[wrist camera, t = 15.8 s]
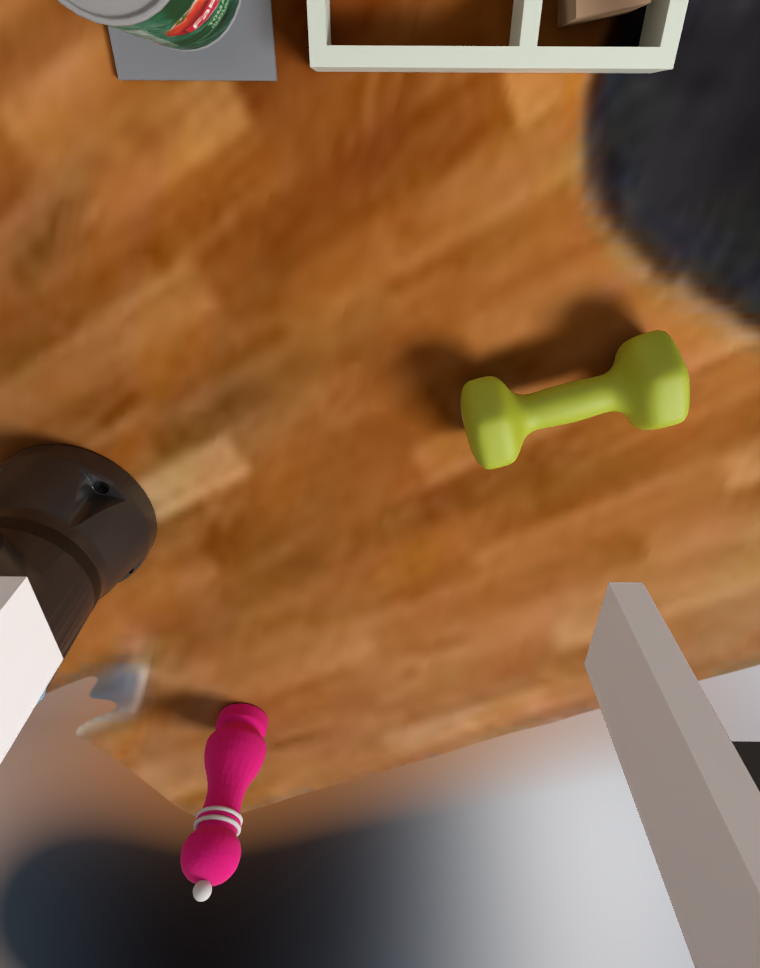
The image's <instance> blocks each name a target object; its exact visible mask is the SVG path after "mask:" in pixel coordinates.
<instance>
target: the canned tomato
mask: <svg viewBox="0 0 760 968" xmlns="http://www.w3.org/2000/svg"><path fill="white" fill-rule="evenodd" d="M58 1H59V2H60V3H61V4H62V5H64V6H65V7H67V8H68V9H70V10H71V11H73V12H74V13H76V14H77V15H79V16H81V17H83V18H86V19H88V20H90V21H93V22H95V23H99V24H104V25H107V26H109V27H111V28H115V29H117V30H121V31H123V32H126V33H129V34H131V35H134V36H137V37H140V38H142V39H146V40H148V41H151V42H154V43H157V44H160V45H162V46H164V47H167V48H169V49H171V50H177V51H182V52H192V51H199V50H202V49H205V48H208V47H210V46H212V45H213V44H215V43H216V42H218V41H219V40H220V39H221V38H222V37H223V36H224V35H225V34H226V33H227V32H228V31H229V29H230V27H231V26H232V24H233V22H234V21H235V19H236V16H237V14H238V11H239V8H240V5H241V0H58Z"/></svg>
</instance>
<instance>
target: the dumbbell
mask: <svg viewBox="0 0 760 968" xmlns="http://www.w3.org/2000/svg"><path fill="white" fill-rule="evenodd" d="M689 403H690V382H689V374H688V370H687V367H686V364H685V362H684V360H683V358H682V356H681V354H680V352H679V350H678V348H677V346H676V344H675V342H674V341H673V339H672V338H671V337H670V335H669V334H667V333H666V332H664V331H661V330H656V331H651V332H648V333H644V334H641V335H638V336H635V337H633V338H631V339H629V340H627V341H626V342H624V343H623V344H622V345H621V346H620V347H619V349H618V350H617V353H616V355H615V359H614V364H613V366H612V368H611V369H610V370H609V371H608V372H606V373H605V374H603V375H600V376H596V377H591V378H586V379H581V380H577V381H573V382H569V383H565V384H561V385H558V386H554V387H551V388H547V389H544V390H541V391H538V392H535V393H531V394H527V395H519V394H516V393H514V392H512V391H511V390H509V389H508V388H507V386H506V385H505V384H504V383H503V382H502V381H501V380H500V379H498V378H496V377H493V376H486V377H481V378H477V379H473V380H470V381H468V382H467V383H466V384H465V385H464V386H463V389H462V393H461V414H462V419H463V424H464V428H465V432H466V435H467V439H468V442H469V445H470V448H471V451H472V453H473V455H474V457H475V459H476V461H477V462H478V463H479V464H480V465H481V466H482V467H483V468H485V469H494V468H499V467H503V466H506V465H509V464H511V463H512V462H514V461H515V460H516V458H517V457H518V454H519V452H520V449H521V446H522V443H523V441H524V439H525V438H526V436H527V435H528V434H529V433H531V432H533V431H535V430H538V429H542V428H547V427H552V426H558V425H563V424H568V423H573V422H576V421H580V420H583V419H586V418H589V417H593V416H596V415H599V414H602V413H605V412H610V411H617V412H621V413H623V414H624V415H625V416H626V417H627V418H628V420H629V422H630V423H631V424H632V425H633V426H634V427H636V428H638V429H643V430H652V429H659V428H664V427H668V426H672V425H676V424H678V423H681V422H682V421H683V420H684V419H685V418H686V416H687V414H688V410H689Z"/></svg>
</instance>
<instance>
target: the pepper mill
mask: <svg viewBox="0 0 760 968" xmlns="http://www.w3.org/2000/svg"><path fill="white" fill-rule="evenodd" d="M267 725H268V718H267V716H266V714H265V713H264V712H263V711H262V710H261V709H259V708H258V707H256V706H253V705H250V704H245V703H236V704H230V705H228V706H226V707H224V708H223V709H222V710H221V711H220V713H219V715H218V719H217V722H216V731H215V732H213V733H212V734H211V735H210V737H209V738H208V740H207V743H206V748H205V754H204V761H205V768H206V774H207V781H208V792H207V796H206V801H205V804H204V806H203V809H201V810H200V811H198V813H197V815H196V821H195V823H194V830H195V831H194V832H193V833H191V834H190V835H189V836H188V838H187V839H186V841H185V842H184V845H183V847H182V852H181V867H182V871H183V873H184V875H185V876H186V877H187V878H188V879H189V880H190V881H191V882H193V883H195V884H196V885H195V886H194V889H193V895H194V898H195V899H196V900H197V901H205V900H206V899H208V897H209V896H210V894H211V891H212V886H215V885H219V884H221V883H223V882H224V881H226V880H227V879H228V878H229V877H231V875H232V874H233V873H234V871H235V870H236V868H237V866H238V863H239V860H240V856H241V846H240V842H239V840H238V838H237V836H238V835H239V834H240V832H241V827H240V826H241V825H242V821H243V819H242V816H241V815H240V808H241V803H242V800H243V796H244V794H245V791H246V789H247V787H248V786H249V784H250V783H251V782H252V780H253V779H254V778H255V776H256V775H257V773H258V772H259V770H260V768H261V766H262V764H263V762H264V759H265V755H266V743H265V741H264V739H263V738H264V736H265V734H266V730H267Z"/></svg>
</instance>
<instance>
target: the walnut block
mask: <svg viewBox="0 0 760 968" xmlns="http://www.w3.org/2000/svg"><path fill="white" fill-rule="evenodd" d="M649 3H651V0H558V28H563V27H568V26H572V25H577V24H582V23H586V22H591V21H596V20H601V19H605V18H610V17H615V16H620V15H624V14H627V13H629V12H631V11H633V10H636V9H638V8H640V7H642V6H644V5H647V4H649Z"/></svg>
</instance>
